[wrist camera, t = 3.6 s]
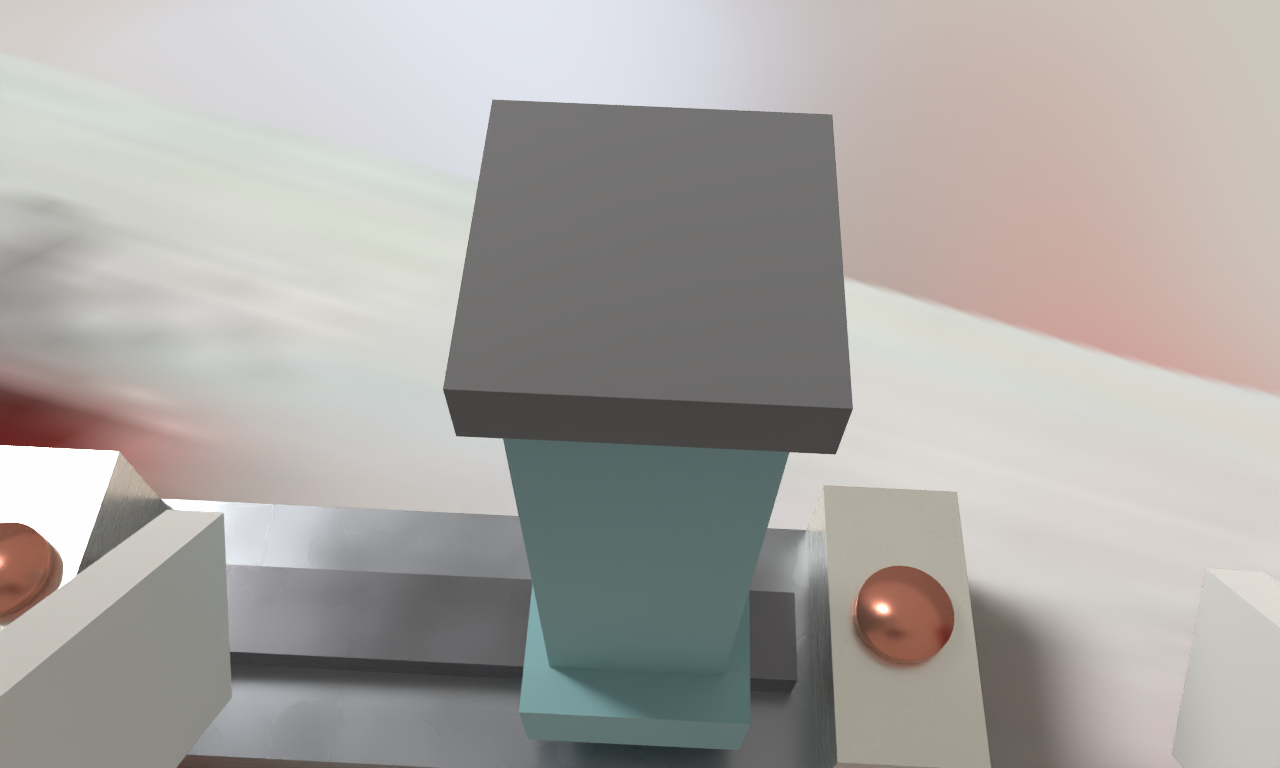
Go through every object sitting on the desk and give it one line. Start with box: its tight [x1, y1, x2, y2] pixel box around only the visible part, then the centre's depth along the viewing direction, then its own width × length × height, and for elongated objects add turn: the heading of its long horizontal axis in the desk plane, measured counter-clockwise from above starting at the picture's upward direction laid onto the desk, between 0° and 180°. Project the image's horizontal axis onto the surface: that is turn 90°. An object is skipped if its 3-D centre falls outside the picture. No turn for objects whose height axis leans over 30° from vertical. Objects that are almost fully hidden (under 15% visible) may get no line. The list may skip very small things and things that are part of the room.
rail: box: [0, 446, 991, 768], centre depth 24 cm, size 22×6×4 cm, turn 87°
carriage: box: [443, 100, 853, 750], centre depth 17 cm, size 4×5×13 cm
